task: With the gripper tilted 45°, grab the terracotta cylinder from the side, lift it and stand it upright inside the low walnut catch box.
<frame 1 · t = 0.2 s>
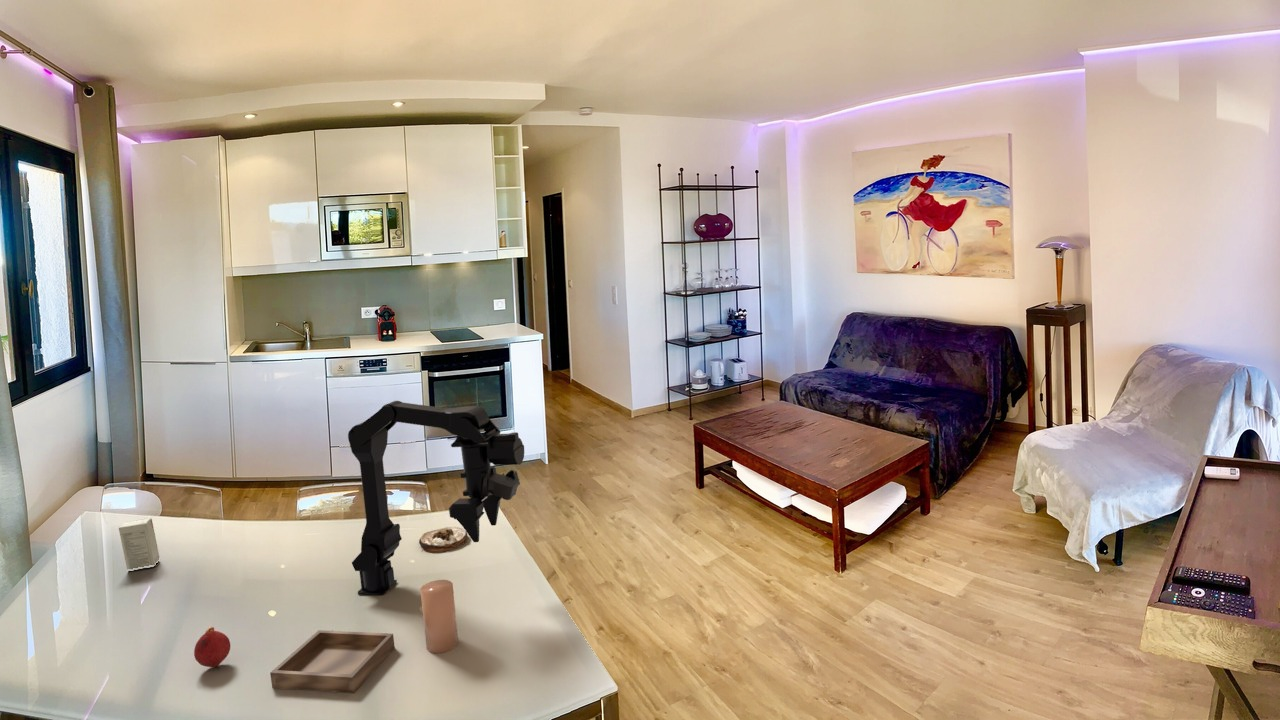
hand: (485, 533, 151), 14 cm above the table, tool pointing down, fingers open, 9 cm apart
onion: (215, 667, 131), on the table
catch box: (336, 667, 129), on the table
skincare box: (143, 567, 178), on the table
terracotta cylinder: (442, 644, 134), on the table
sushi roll: (443, 544, 184), on the table
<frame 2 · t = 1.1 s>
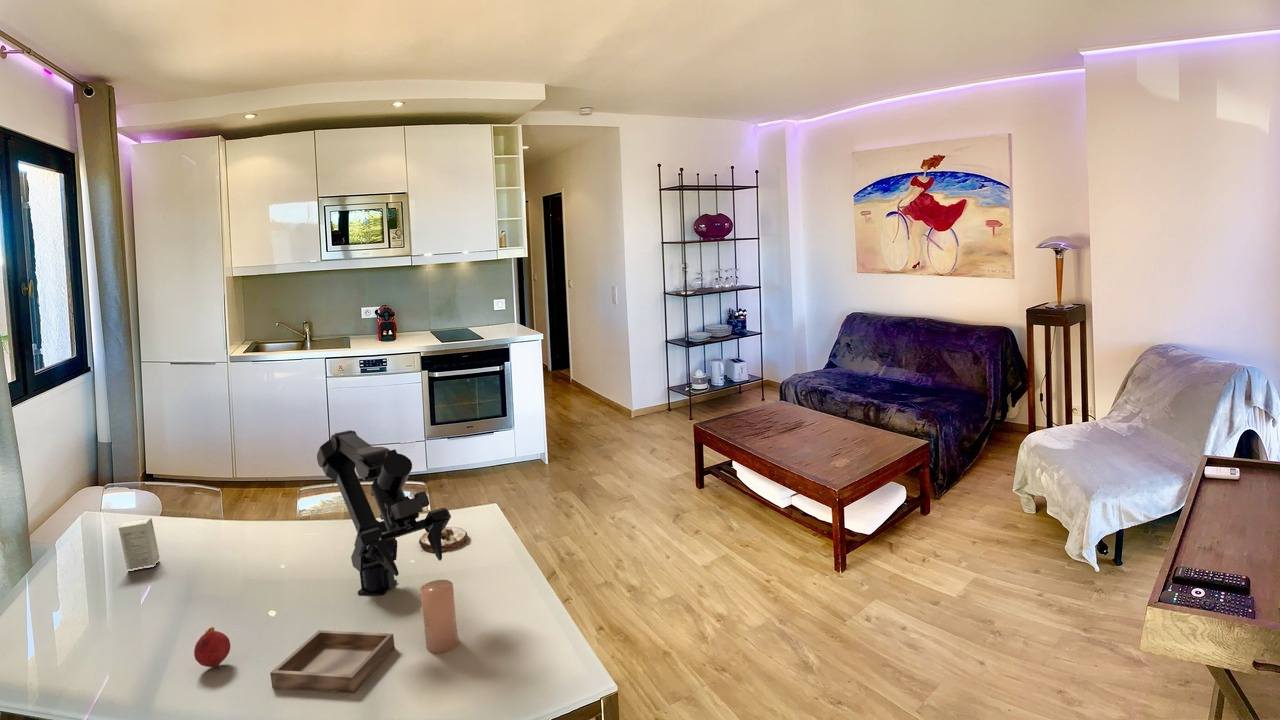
hand: (419, 567, 139), 13 cm above the table, tool tilted 45°, fingers open, 9 cm apart
nothing on the table moved.
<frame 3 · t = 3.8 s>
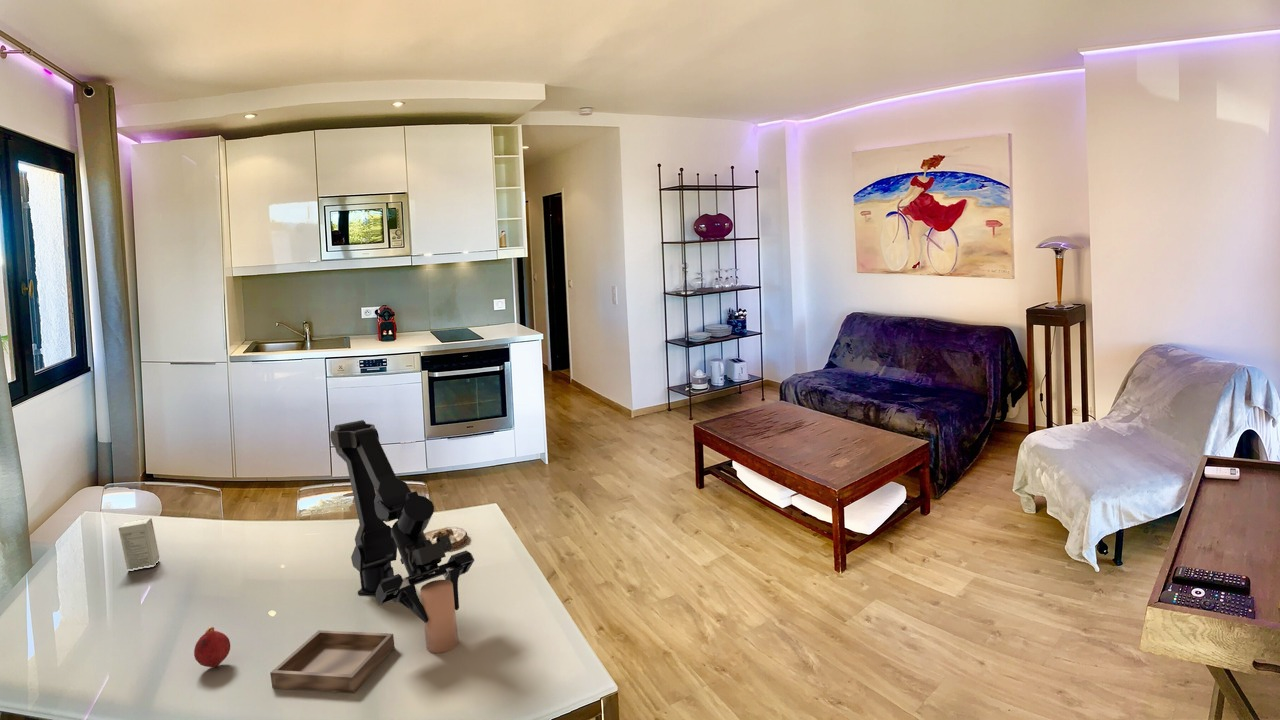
hand: (442, 615, 132), 7 cm above the table, tool tilted 45°, fingers closed on terracotta cylinder, 6 cm apart
terracotta cylinder: (442, 644, 134), on the table, touching gripper
everything else where it was.
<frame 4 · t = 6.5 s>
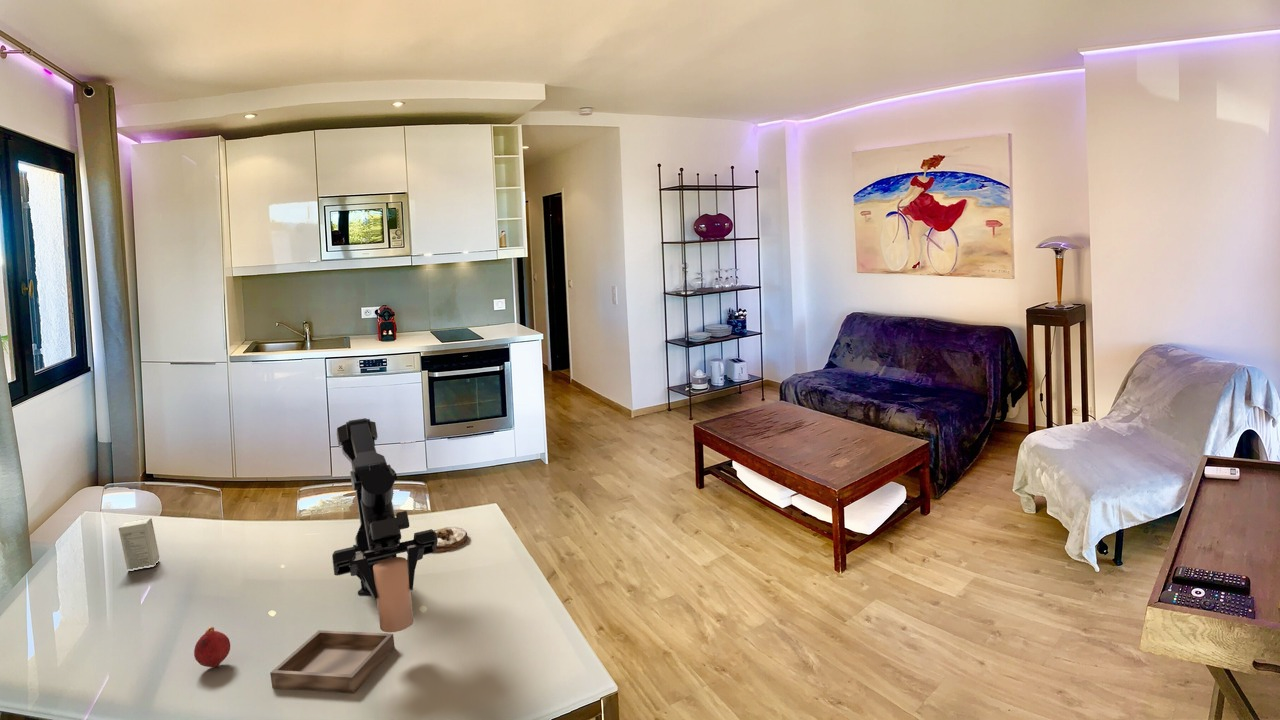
hand: (394, 594, 128), 13 cm above the table, tool tilted 45°, fingers closed on terracotta cylinder, 6 cm apart
terracotta cylinder: (396, 623, 130), point 7 cm above the table, touching gripper
everything else where it was.
when the fingers open (8 cm above the table, at t = 9.0 s): terracotta cylinder drops 1 cm, resting on catch box.
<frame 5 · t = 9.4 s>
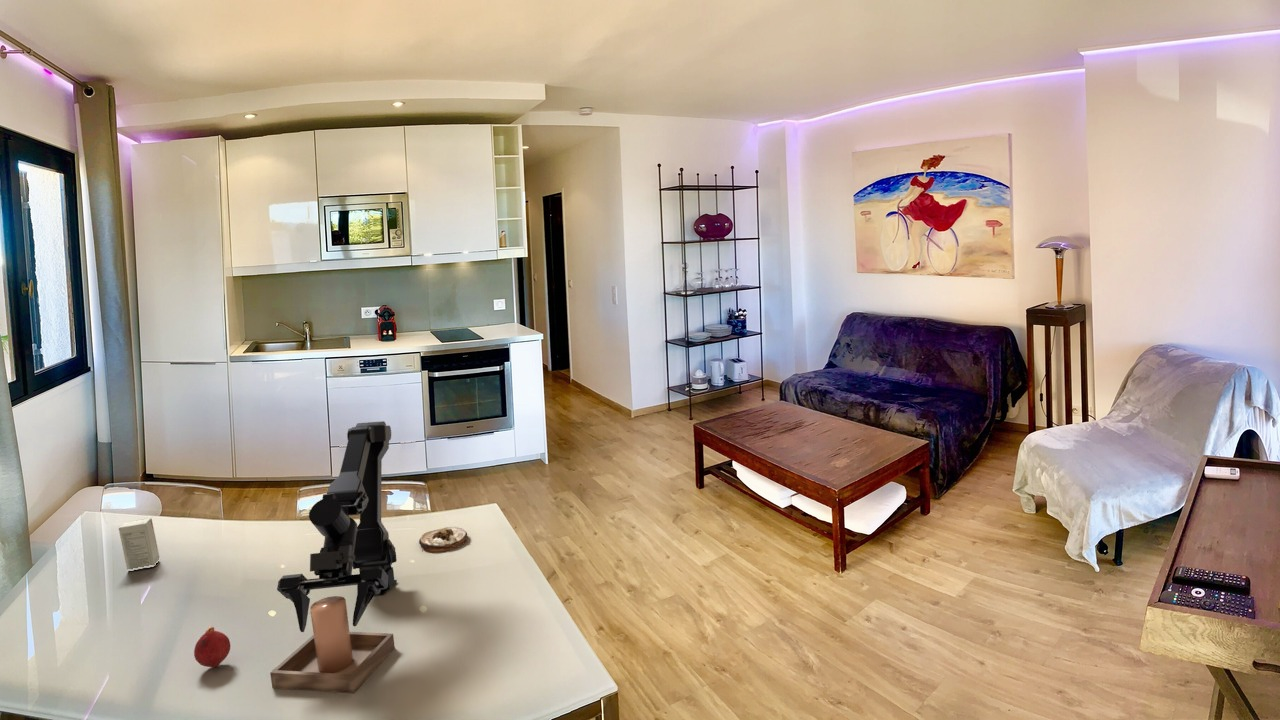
hand: (328, 628, 126), 9 cm above the table, tool tilted 45°, fingers open, 9 cm apart
terracotta cylinder: (335, 664, 129), point 1 cm above the table, touching catch box
everything else where it was.
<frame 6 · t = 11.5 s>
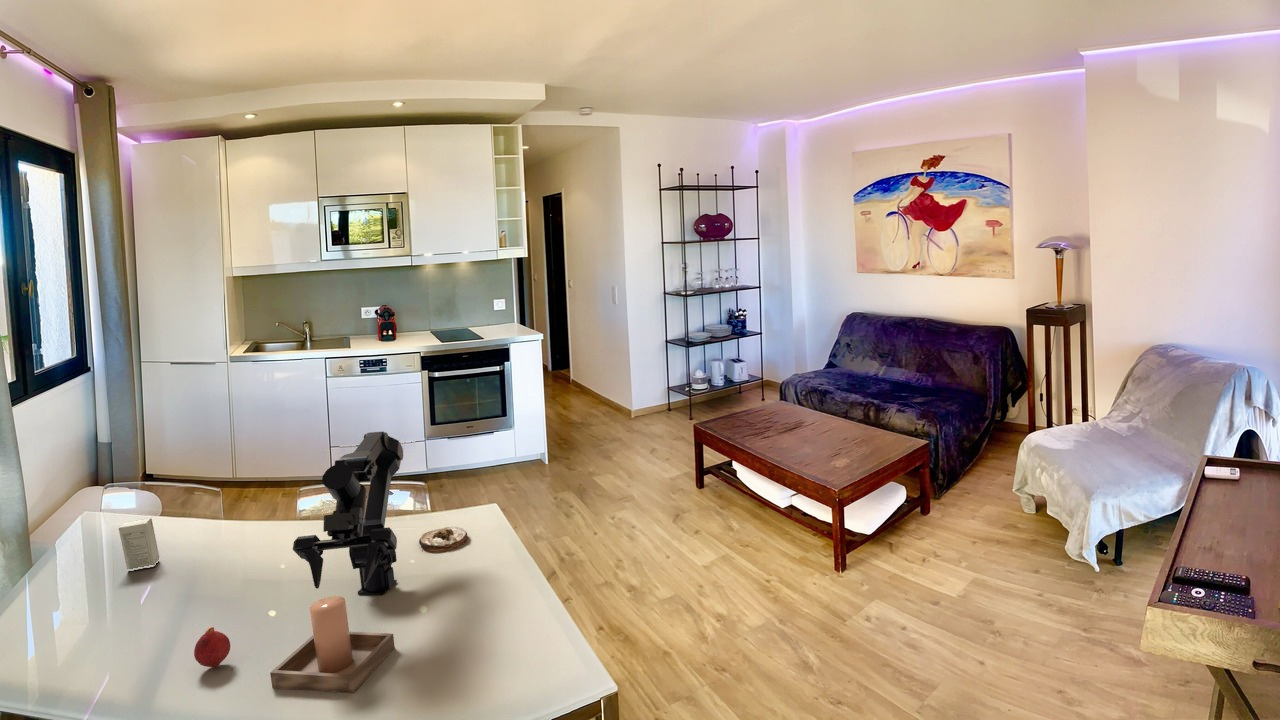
hand: (341, 585, 134), 13 cm above the table, tool tilted 45°, fingers open, 9 cm apart
nothing on the table moved.
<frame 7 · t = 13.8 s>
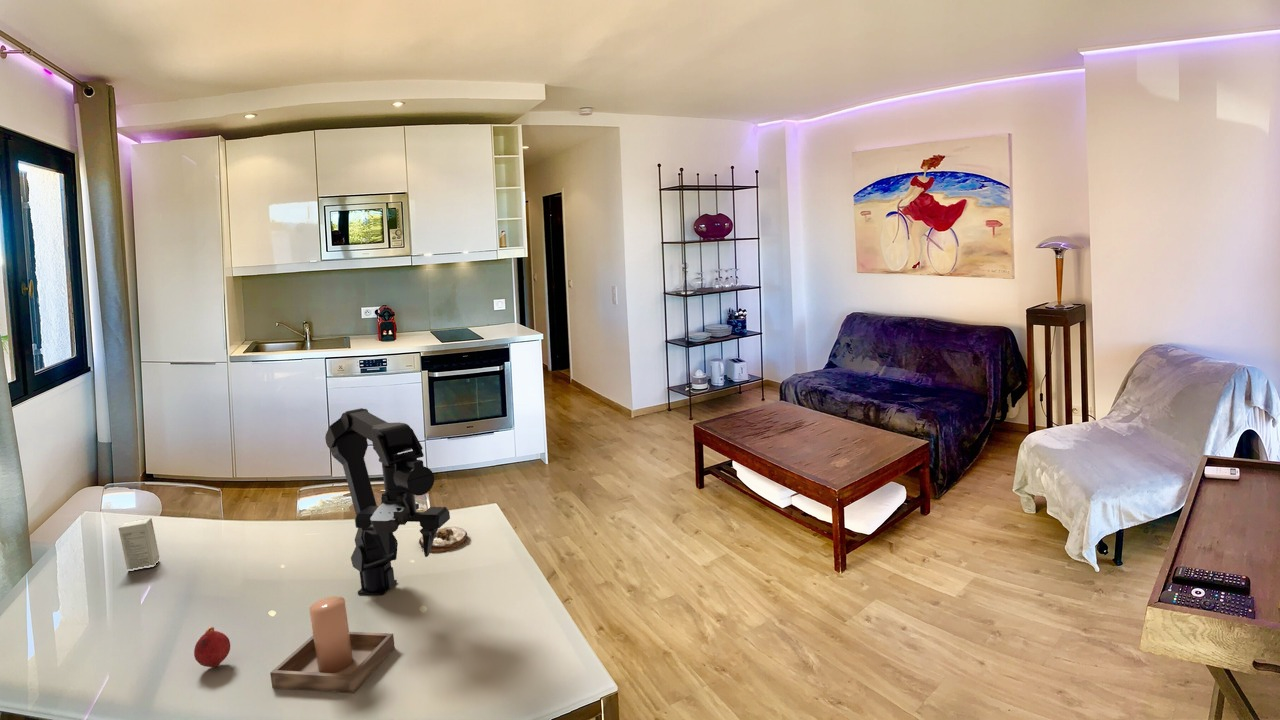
hand: (406, 555, 145), 13 cm above the table, tool pointing down, fingers open, 9 cm apart
nothing on the table moved.
at the end: terracotta cylinder inside the target area on the catch box (0.0 cm from its centre), point 0.6 cm above the catch box's base; terracotta cylinder tilted 1°; the gripper is holding nothing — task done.
